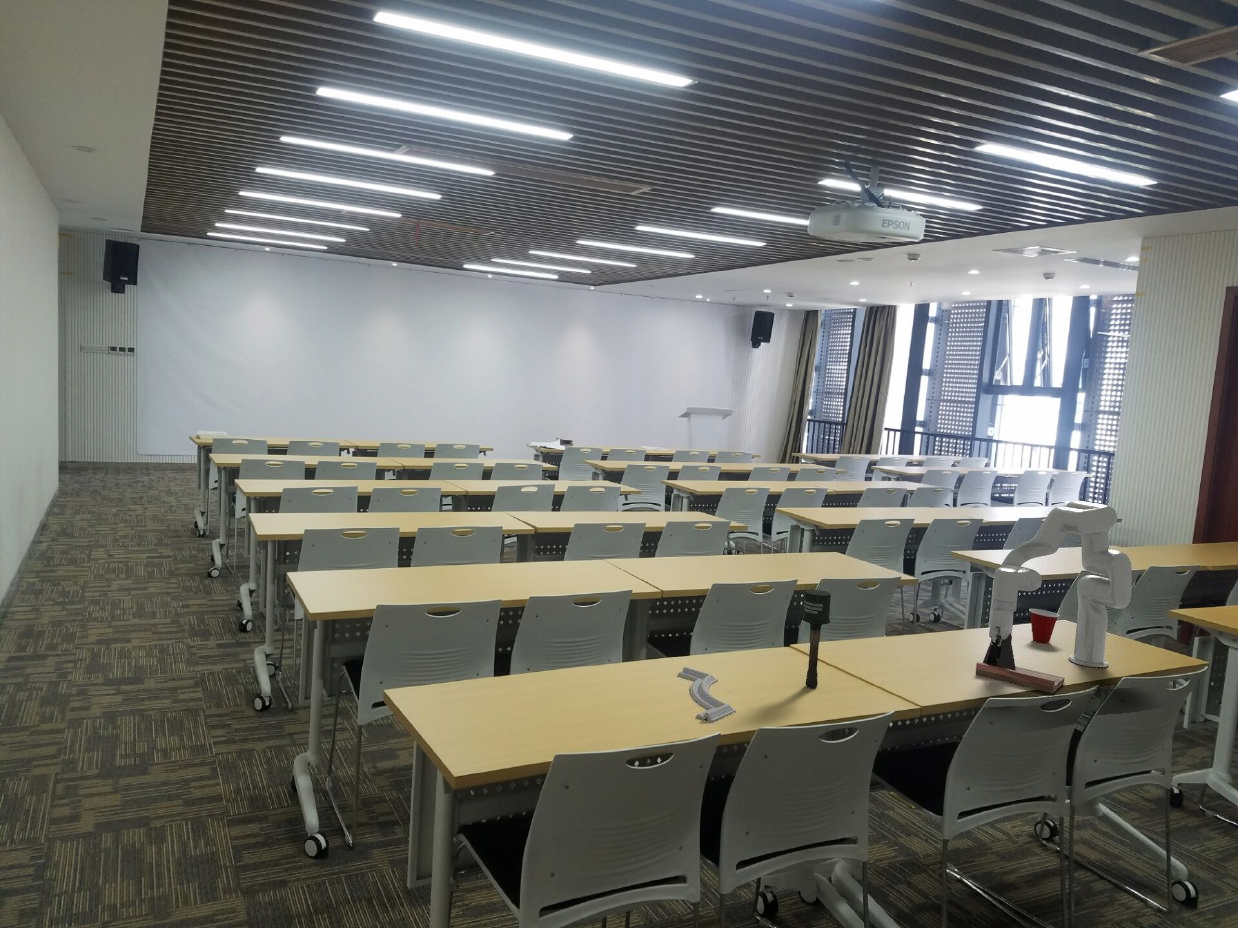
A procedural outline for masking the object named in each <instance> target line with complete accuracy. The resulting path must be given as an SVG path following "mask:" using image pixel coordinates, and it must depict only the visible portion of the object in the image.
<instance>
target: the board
mask: <svg viewBox="0 0 1238 928" xmlns="http://www.w3.org/2000/svg"><path fill="white" fill-rule="evenodd" d="M975 663H976V665H975V674H976V676H979V677H983V676H984V678H988V679H992V680H996V679H997V680H996V681H1001V682H1004V683H1008V684H1013V685H1016V686H1020V687H1025V688H1029V689H1033V690H1038V691H1040V692H1041V691H1042V692H1045V693H1050V694H1054V693H1055V692H1056V691H1057V690H1058V689H1060V687H1062V686H1063V685H1064V684H1065V677H1063V676H1060V675H1055V674H1051V673H1045V672H1041V671H1037V670H1032V669H1028V668H1024V667H1019V666H1016V665H1015V668H1016V671H1014V670H1010V669H1006V668H1002V667H997V666H993V665H989V664H984V663H983V662H979V661H977V662H975ZM1063 683H1064V684H1063ZM1061 685H1062V686H1061Z"/></svg>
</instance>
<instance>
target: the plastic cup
mask: <svg viewBox="0 0 1238 928" xmlns="http://www.w3.org/2000/svg"><path fill="white" fill-rule="evenodd" d="M1029 613H1030V618H1031V619H1030V620H1031V621H1030V622H1031V623H1030V625H1031V632H1032V640H1033V642H1034V643H1039V644H1046V645H1047V644H1049V643H1050V641H1051V639H1052V635H1053V632H1054V629H1055V627H1056V622H1057V620H1058V619H1059V617H1060V616H1061V615H1060V614H1058V613H1056V612H1052V611H1048V610H1044V609H1038V608H1029Z"/></svg>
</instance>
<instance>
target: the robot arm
mask: <svg viewBox="0 0 1238 928" xmlns="http://www.w3.org/2000/svg"><path fill="white" fill-rule="evenodd" d="M1117 521H1118V514H1117V512H1116V510H1115V508H1113V507H1112V506H1110V505H1105V504H1101V503H1095V502H1094V503H1093V502H1088V501H1082V500H1071V501H1070V502H1068V503H1067V504H1066V505H1065V506H1057V507H1054V508H1052V509H1051V510H1050V512H1049V513H1048V514H1047V516H1046V518H1045V519H1044V520H1043V522H1042V523H1041V525H1040V527H1038V530H1037V531H1036V532H1035V534H1034V535H1033V537H1032V538H1030V539H1029V540H1028V541H1025V542H1023V543H1022V544H1020V545H1018V546H1017V547H1015V548H1014V549H1012V550H1011V551H1010V552H1009V553H1008V554H1007V555H1006V557H1005V558H1004V560H1003V561H1002V563H1001V565H1000V566H999V567H998V568H996V569H995V571H994V577H993V578H994V579H993V589H992V599H991V609H992V612H991V619H990V624H989V630H988V631H989V632H988V637H989V638H990V642H991V650H990V656H991V657H994V658H1000V656H1001V647H1000V645H1001V642H1002V640H1005V639H1006V638H1008V636H1009V634H1010V633H1011V635H1012V633H1013V628H1014V627H1013V625H1014V612H1016V611H1017V605H1018V594H1019V591H1024V592H1033V591H1037V590H1038V589H1039V588H1040V587H1041V585H1042V583H1043V578H1042V575H1041V574H1040V573H1039V572H1038V571H1037V570H1034V569H1033V568H1029V567H1024V566H1022V565H1023V564H1025V563H1026V562H1028V561H1030V560H1032V559H1036V558H1040V557H1046V556H1050V555H1054V554H1055V553H1057V552H1058V550H1059V548H1060V547H1061V545H1062V544H1063V542H1064V541H1065V539H1066V538H1067V536H1068V535H1069V534H1075V535H1078V536H1079V535H1080V539H1081V565H1082V568H1083V569H1084V570H1085V571H1087V572H1089V573H1092V574H1093V575H1090V574H1088V575H1084V576H1082V577H1081V578H1079V580H1078V582H1077V584H1076V585H1077V586H1076V591H1077V592H1076V593H1077V601H1078V602H1077V604H1078V607H1077V619H1076V629H1075V630H1076V632H1075V638H1074V648H1073V649H1074V650H1073V653H1072V654H1070V655H1068V660H1069V661H1070V662H1072V663H1074V664H1077V665H1080V666H1084V667H1090V668H1098V667H1100V668H1101V667H1103V668H1107V667H1108V666H1109V662H1108V660H1106V659H1105V652H1106V651H1105V649H1106V640H1107V632H1108V622H1109V621H1108V620H1109V617H1108V616H1109V615H1108V611H1107V609H1106V608H1107V607H1109V608H1114V609H1117V610H1118V609H1119V610H1121V609H1125V608H1126V607H1128V606H1129V604H1130V602H1131V601H1132V600H1131V599H1132V593H1133V592H1132V575H1133V574H1132V573H1133V572H1132V569H1133V567H1132V561H1131V559H1130V556H1129V555H1128V554H1126V553H1125V552H1123V551H1120V550H1115V549H1111V548H1110V544H1109V533H1108V530H1110V529H1112V528H1113V527H1114V526H1115V524H1116V522H1117ZM1094 574H1097V575H1094ZM1098 575H1101V576H1098ZM1102 576H1103V577H1102ZM1104 576H1105V577H1104ZM1107 577H1108V578H1107ZM997 636H998V637H997ZM991 638H992V639H991ZM998 640H999V642H998Z"/></svg>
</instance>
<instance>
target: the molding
mask: <svg viewBox="0 0 1238 928" xmlns="http://www.w3.org/2000/svg"><path fill="white" fill-rule="evenodd" d="M679 676H680V677H681V678H683V679H685V680H689V679H690V680H689V681H692V684H691V686H690V691H689V692H690V696H691V697H692V699H693V700H694V701H695V702H696V703H697V704H698V705H700V706H701V707H702V708H704V709H706V710H705V711H703V712H701V713H698V714H696V716H695V718H697V719H700V718H701V719H700V720H703V719H704V720H706V719H707V721H708V722H709V723H711V722H712V724H713V723H715V721H716V722H718V721H720V720H723V719H724V717H725V716H727V717H729V716H731V715H733V714H734V713H733V712H735V713H737V710H736V709H735V708H733V707H732V706H731V705H730V704H728V703H726V702H724V701H721V700H719V699H718V698H716V697H714V696H713V695H711V693H710V689H711V687H712V686H713V685H714V684H716V683H717V682H716V681H718V682H719V679H718V678H716V677H715V676H714V675H713V674H710V673H708V672H707V673H706V672H704V671H701V670H697V669H693V668H690V667H687V666H683V668H682V672H678V673H677V677H679ZM680 677H679V678H680ZM715 682H716V683H715ZM713 683H714V684H713ZM711 685H712V686H711ZM707 709H708V710H707ZM732 713H733V714H732ZM730 714H731V715H730ZM728 715H729V716H728ZM725 718H726V717H725ZM719 719H720V720H719Z"/></svg>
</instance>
